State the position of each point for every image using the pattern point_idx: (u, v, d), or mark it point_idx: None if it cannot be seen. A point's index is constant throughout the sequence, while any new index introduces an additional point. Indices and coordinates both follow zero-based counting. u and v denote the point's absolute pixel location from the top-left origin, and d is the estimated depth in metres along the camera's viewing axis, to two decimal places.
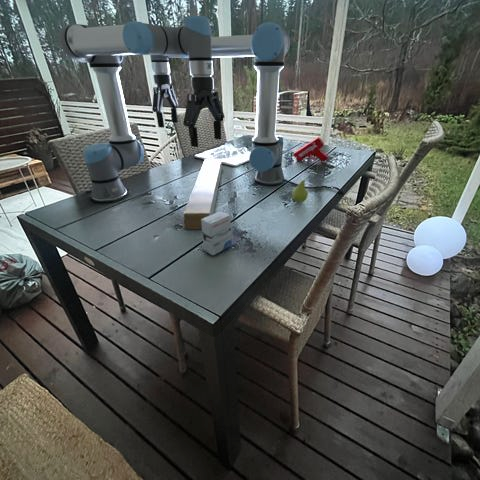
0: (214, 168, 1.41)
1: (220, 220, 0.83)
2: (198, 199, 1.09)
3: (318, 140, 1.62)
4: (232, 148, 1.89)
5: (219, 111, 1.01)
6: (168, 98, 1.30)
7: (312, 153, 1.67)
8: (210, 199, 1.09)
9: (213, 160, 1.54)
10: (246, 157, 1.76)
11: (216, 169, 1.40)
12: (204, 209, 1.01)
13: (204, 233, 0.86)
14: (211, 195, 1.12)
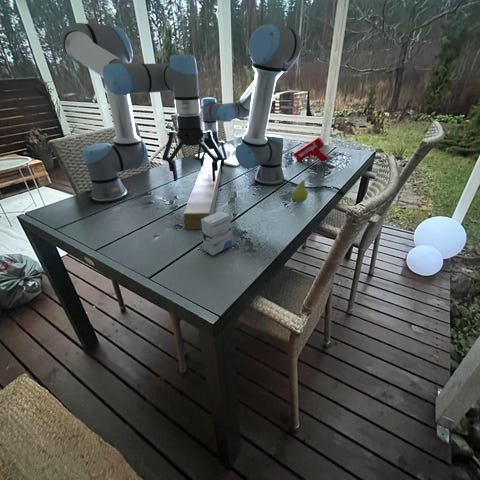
0: None
1: (220, 220, 0.83)
2: (198, 199, 1.09)
3: (318, 140, 1.62)
4: (232, 148, 1.89)
5: None
6: None
7: (312, 153, 1.67)
8: (210, 199, 1.09)
9: None
10: None
11: None
12: (204, 209, 1.01)
13: (204, 233, 0.86)
14: (211, 195, 1.12)
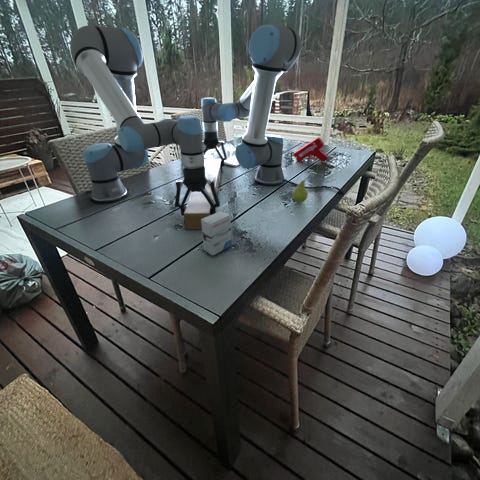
0: (214, 168, 1.41)
1: (220, 220, 0.83)
2: (198, 199, 1.09)
3: (318, 140, 1.62)
4: (232, 148, 1.89)
5: None
6: (206, 150, 1.49)
7: (312, 153, 1.67)
8: None
9: (213, 160, 1.54)
10: None
11: (216, 169, 1.40)
12: (204, 209, 1.01)
13: (204, 233, 0.86)
14: (211, 195, 1.12)
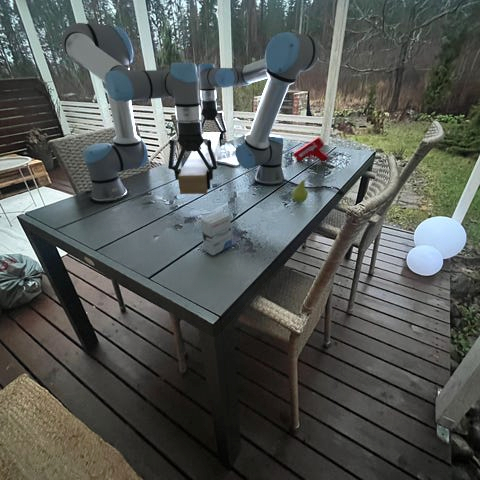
0: (213, 140, 1.33)
1: (220, 220, 0.83)
2: (194, 164, 1.01)
3: (318, 140, 1.62)
4: (232, 148, 1.89)
5: (211, 160, 0.92)
6: (204, 122, 1.41)
7: (312, 153, 1.67)
8: None
9: (211, 133, 1.46)
10: None
11: (215, 141, 1.32)
12: (200, 172, 0.93)
13: (204, 233, 0.86)
14: None
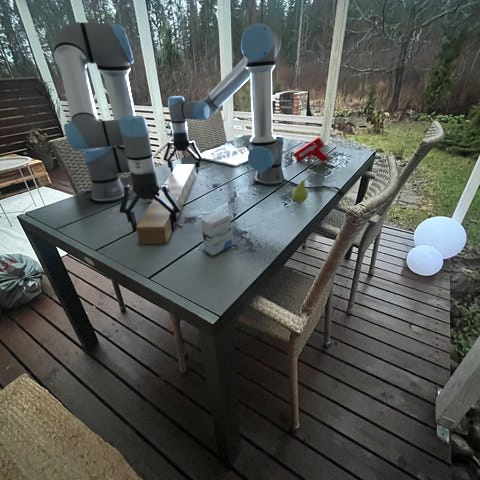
0: (184, 175, 1.33)
1: (220, 220, 0.83)
2: (156, 210, 1.01)
3: (318, 140, 1.62)
4: (232, 148, 1.89)
5: None
6: None
7: (312, 153, 1.67)
8: None
9: (185, 165, 1.46)
10: (246, 157, 1.76)
11: (186, 176, 1.31)
12: (159, 222, 0.93)
13: (204, 233, 0.86)
14: None
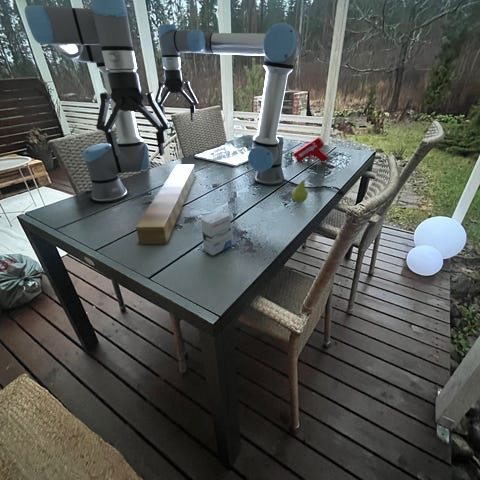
0: (184, 175, 1.33)
1: (220, 220, 0.83)
2: (156, 210, 1.01)
3: (318, 140, 1.62)
4: (232, 148, 1.89)
5: None
6: (167, 94, 1.25)
7: (312, 153, 1.67)
8: (169, 210, 1.00)
9: (185, 165, 1.46)
10: (246, 157, 1.76)
11: (186, 176, 1.31)
12: (159, 222, 0.93)
13: (204, 233, 0.86)
14: (172, 206, 1.04)
